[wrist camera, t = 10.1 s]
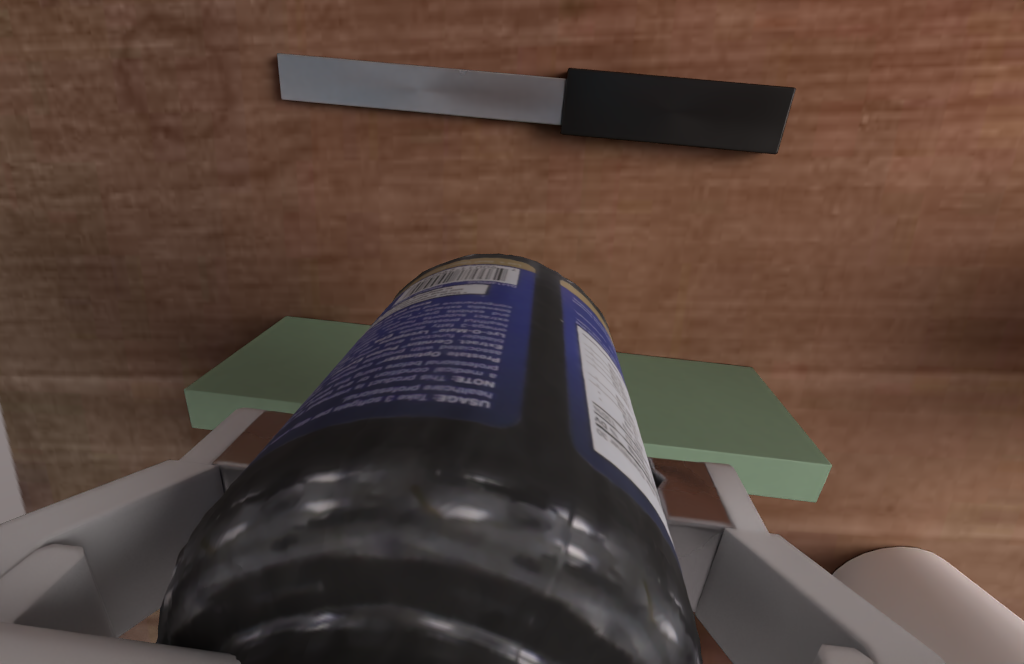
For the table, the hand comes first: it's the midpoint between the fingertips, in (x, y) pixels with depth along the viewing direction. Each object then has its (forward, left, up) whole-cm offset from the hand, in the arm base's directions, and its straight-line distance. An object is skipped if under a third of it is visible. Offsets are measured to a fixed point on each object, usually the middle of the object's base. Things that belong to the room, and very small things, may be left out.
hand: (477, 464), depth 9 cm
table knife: (0, +7, -13) cm, 15 cm away
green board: (0, -4, -13) cm, 14 cm away
